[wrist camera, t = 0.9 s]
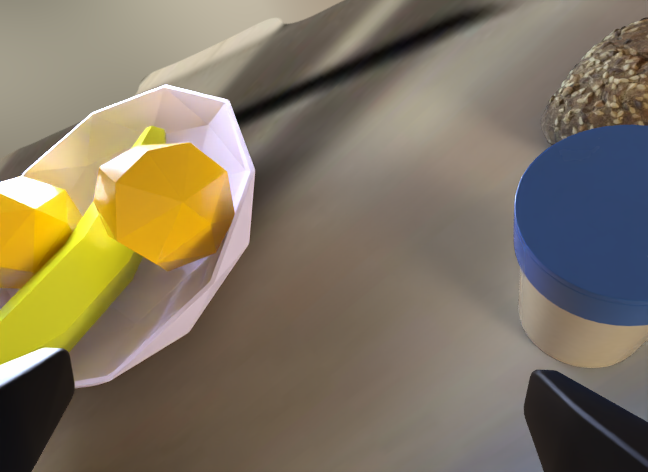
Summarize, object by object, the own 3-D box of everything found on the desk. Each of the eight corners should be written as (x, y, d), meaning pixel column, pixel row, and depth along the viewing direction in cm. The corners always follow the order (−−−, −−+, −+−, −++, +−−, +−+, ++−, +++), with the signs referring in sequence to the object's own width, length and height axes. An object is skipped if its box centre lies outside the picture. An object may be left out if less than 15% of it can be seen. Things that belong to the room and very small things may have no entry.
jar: (678, 320, 22) (794, 214, 13) (580, 392, 22) (629, 335, 13) (578, 240, 26) (616, 113, 17) (494, 302, 26) (487, 209, 17)
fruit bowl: (149, 110, 48) (64, 23, 39) (347, 171, 34) (287, 58, 25) (-27, 331, 41) (-181, 289, 32) (129, 520, 27) (-65, 543, 18)
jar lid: (780, 248, 15) (829, 208, 12) (617, 368, 15) (636, 349, 13) (605, 140, 19) (618, 95, 16) (478, 234, 19) (474, 202, 17)
